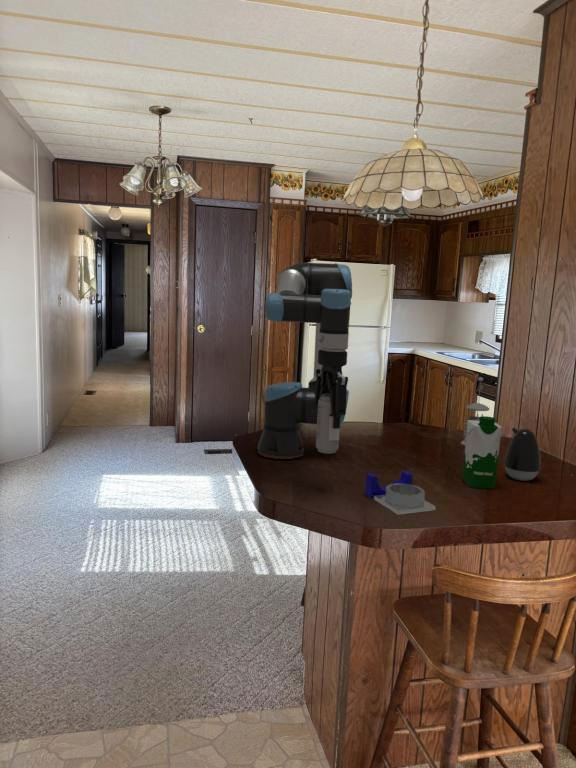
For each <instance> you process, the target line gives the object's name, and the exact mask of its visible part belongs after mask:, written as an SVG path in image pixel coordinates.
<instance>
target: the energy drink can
mask: <svg viewBox="0 0 576 768" xmlns="http://www.w3.org/2000/svg"><path fill="white" fill-rule="evenodd" d="M329 414H332V411H331V399H330V394H321V398H320V399H319V401H318V416H317V424H316V437H315V448H316V449H317V452H319V453H322V454H335V453H337V451H338V449H339V447H340V446H339V445H340V439H339V440H332V441H329V440H328V438H329V421H330V416H329Z"/></svg>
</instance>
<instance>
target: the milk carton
mask: <svg viewBox="0 0 576 768" xmlns="http://www.w3.org/2000/svg"><path fill="white" fill-rule="evenodd" d="M479 417H480V421H475V420H468V419H467V420H466V421H467V426H466V427H467V430H466V431H467V433H465V434H466V436H465V437H466V444H465V445H464V455H463V465H462V466H463V467H462V468H463V469H462V470H463V471H462V472H463V473H462V480H463V481H464V483H465V484H466V485H467V486H468V487H469V488H471V489H473V488H477V489H493V490H494V489H495V488H496V487H495V485H496V480H497V479H496V478H497V475H498V473H497V472H498V465H499V454H500V445H501V437H502V430H503V426H501V425H500V424H499V423H497V422H496V418H495V417H493V416H492V417H491V416H484V415H483V416H482V415H480V416H479Z"/></svg>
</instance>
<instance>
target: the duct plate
mask: <svg viewBox="0 0 576 768" xmlns="http://www.w3.org/2000/svg"><path fill="white" fill-rule="evenodd" d="M385 486H386V493H385V495H377V496H374V498H373V500H374V501H376V502H377V503H379V504H380V505H382V506H383V507H385V508H387V509H388V510H390V511H391V512H392V513H394V514H396V515H397V516H400V515H408V514H417V513H424V512H431V511H436V505H434V504H432V503H430V502H429V501H427V500H425V498H426V497H425V496H426V495H425V494H426V492H425V489H423V488H421V487H420V486H418V485H414V484H412V485H410V484H402V483H396V484H391V483H390V484H388V485H385Z"/></svg>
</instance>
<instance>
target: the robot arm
mask: <svg viewBox="0 0 576 768" xmlns="http://www.w3.org/2000/svg"><path fill="white" fill-rule="evenodd" d="M352 280H353V279H352V272H351V269H350V267H349V266H348V265H347V264H341V263H337V262H336V263H322V262H320V263H319V262H298V263H294V264H291V265H289V266H288V267H285V268H284V269H282V271H280V272H279V274H278V275H277V278H276V281H275V287H276V288H275V289H276V292H273V293H272V292H271V293H268V294H267V295H266V299H265V318H266V319H267V320H268V321H271V322H277V323H280V322H281V323H282V322H283V323H284V322H285V323H286V322H287V323H307V324H308V323H309V324H315V335H314V337H315V338H314V357H313V359H314V360H313V363H314V364H313V377H312V378H311V379H310V381H308V385H307V386H308V387H303V385H302V383H301V382H299V381H295V382H294V381H284V382H277V383H273V384H270V385H268V386H267V387H266V388H265V393H264V399H263V401H264V410H263V429H262V432H261V436H260V439H259V441H258V444H257V448H256V450H257V449H258V451H260V452H262V453H265V454H268V455H274V456H287V457H290V456H298V455H301V454H303V453H305V448H304V444H303V440H302V437H301V433H300V425H302V424H303V425H317V416H318V401H319V399H320V398H321V394H330V399H331V411H332V414H329V416H330V421H329V438H328V440H329V441H332V440H339V441H340V429H341V425H342V424H343V423H344V420H345V417H346V414H347V408H348V402H349V395H350V394H349V393H350V392H349V389H347V388H348V383H349V377H348V376H344V375H343V370H342V369H343V367H345V366H347V363H348V352H347V350H348V347H349V335H350V334H349V330H350V329H349V328H350V319H351V318H350V314H351V305H352V297H353V281H352Z"/></svg>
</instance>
